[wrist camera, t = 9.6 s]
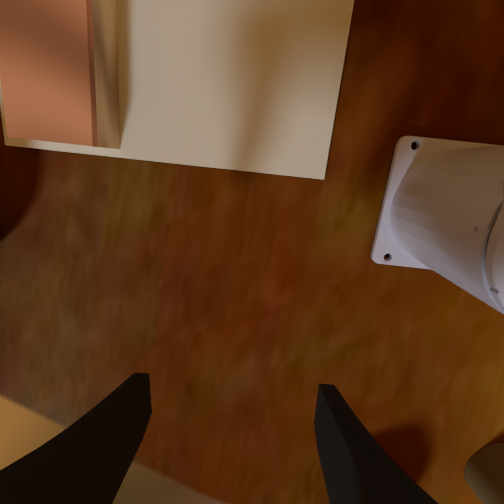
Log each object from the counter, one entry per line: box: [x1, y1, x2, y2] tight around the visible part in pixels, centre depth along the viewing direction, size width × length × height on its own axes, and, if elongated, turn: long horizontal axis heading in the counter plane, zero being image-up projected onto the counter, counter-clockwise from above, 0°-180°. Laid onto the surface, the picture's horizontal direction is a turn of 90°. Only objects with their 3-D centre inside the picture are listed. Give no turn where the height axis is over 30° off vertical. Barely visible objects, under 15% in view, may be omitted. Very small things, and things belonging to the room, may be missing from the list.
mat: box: [0, 0, 354, 180], centre depth 17 cm, size 20×14×1 cm
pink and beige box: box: [0, 0, 120, 149], centre depth 15 cm, size 9×4×3 cm, turn 174°
